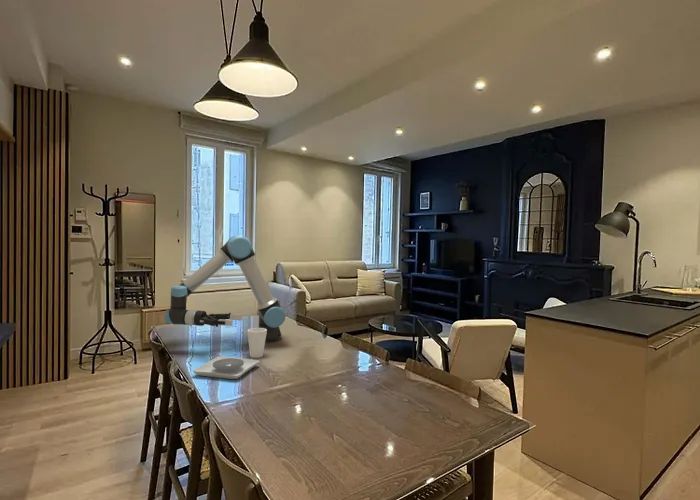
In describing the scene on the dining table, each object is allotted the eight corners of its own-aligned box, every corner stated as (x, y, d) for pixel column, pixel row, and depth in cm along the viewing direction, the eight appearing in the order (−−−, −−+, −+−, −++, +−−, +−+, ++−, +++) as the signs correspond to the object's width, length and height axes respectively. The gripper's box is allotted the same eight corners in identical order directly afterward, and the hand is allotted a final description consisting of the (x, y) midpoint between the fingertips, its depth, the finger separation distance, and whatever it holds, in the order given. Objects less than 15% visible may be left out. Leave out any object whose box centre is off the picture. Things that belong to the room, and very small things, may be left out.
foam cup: (268, 353, 196) (269, 328, 196) (262, 359, 187) (263, 332, 187) (250, 352, 197) (251, 327, 197) (244, 357, 188) (244, 331, 188)
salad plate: (237, 383, 156) (238, 375, 155) (191, 378, 160) (191, 370, 160) (260, 367, 176) (260, 359, 176) (218, 362, 181) (218, 355, 180)
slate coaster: (239, 358, 177) (239, 356, 177) (247, 366, 166) (247, 365, 166) (209, 362, 170) (210, 360, 170) (216, 371, 159) (216, 369, 159)
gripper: (207, 320, 206) (245, 322, 205) (183, 330, 181) (227, 333, 180) (207, 306, 206) (246, 308, 205) (184, 315, 181) (227, 317, 180)
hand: (237, 320), depth 192 cm, fingers open, 13 cm apart
